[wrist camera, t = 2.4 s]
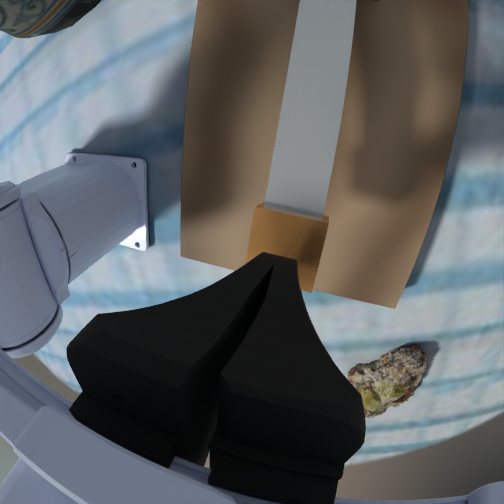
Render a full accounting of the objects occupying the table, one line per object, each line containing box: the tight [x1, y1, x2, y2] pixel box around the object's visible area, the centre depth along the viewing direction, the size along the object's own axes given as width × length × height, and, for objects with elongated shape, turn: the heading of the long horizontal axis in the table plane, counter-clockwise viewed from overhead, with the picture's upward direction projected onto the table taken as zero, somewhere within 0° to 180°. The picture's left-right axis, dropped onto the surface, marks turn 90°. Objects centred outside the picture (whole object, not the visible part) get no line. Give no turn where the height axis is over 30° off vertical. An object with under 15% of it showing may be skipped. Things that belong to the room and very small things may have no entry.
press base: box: [181, 0, 468, 309], centre depth 14 cm, size 16×23×7 cm
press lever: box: [245, 0, 356, 293], centre depth 11 cm, size 3×17×2 cm, turn 173°
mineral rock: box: [347, 345, 428, 418], centre depth 25 cm, size 11×4×8 cm
